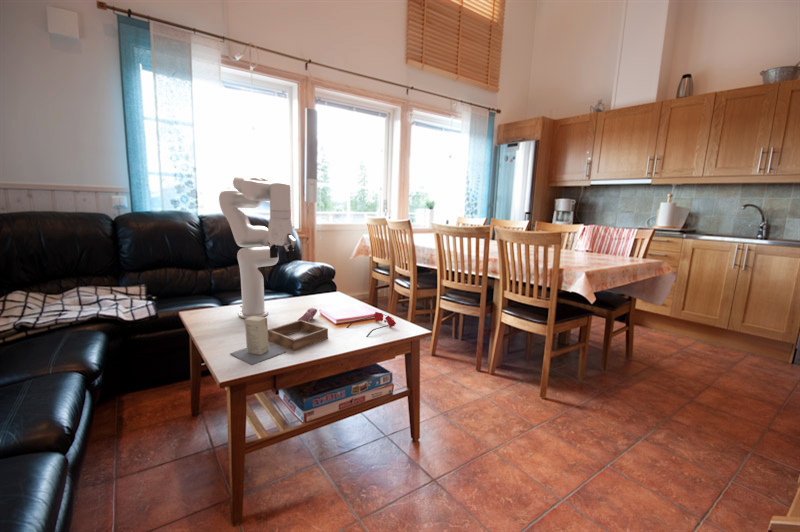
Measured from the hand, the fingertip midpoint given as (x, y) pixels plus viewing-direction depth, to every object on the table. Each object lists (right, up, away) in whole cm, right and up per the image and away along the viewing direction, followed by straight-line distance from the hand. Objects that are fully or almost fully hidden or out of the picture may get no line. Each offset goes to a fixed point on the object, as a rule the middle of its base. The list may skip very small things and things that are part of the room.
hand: (281, 259), depth 142 cm
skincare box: (-3, -33, -15) cm, 36 cm away
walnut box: (+7, -31, -2) cm, 32 cm away
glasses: (+34, -30, +13) cm, 47 cm away
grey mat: (-3, -33, -16) cm, 37 cm away
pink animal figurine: (+6, -27, +19) cm, 34 cm away
